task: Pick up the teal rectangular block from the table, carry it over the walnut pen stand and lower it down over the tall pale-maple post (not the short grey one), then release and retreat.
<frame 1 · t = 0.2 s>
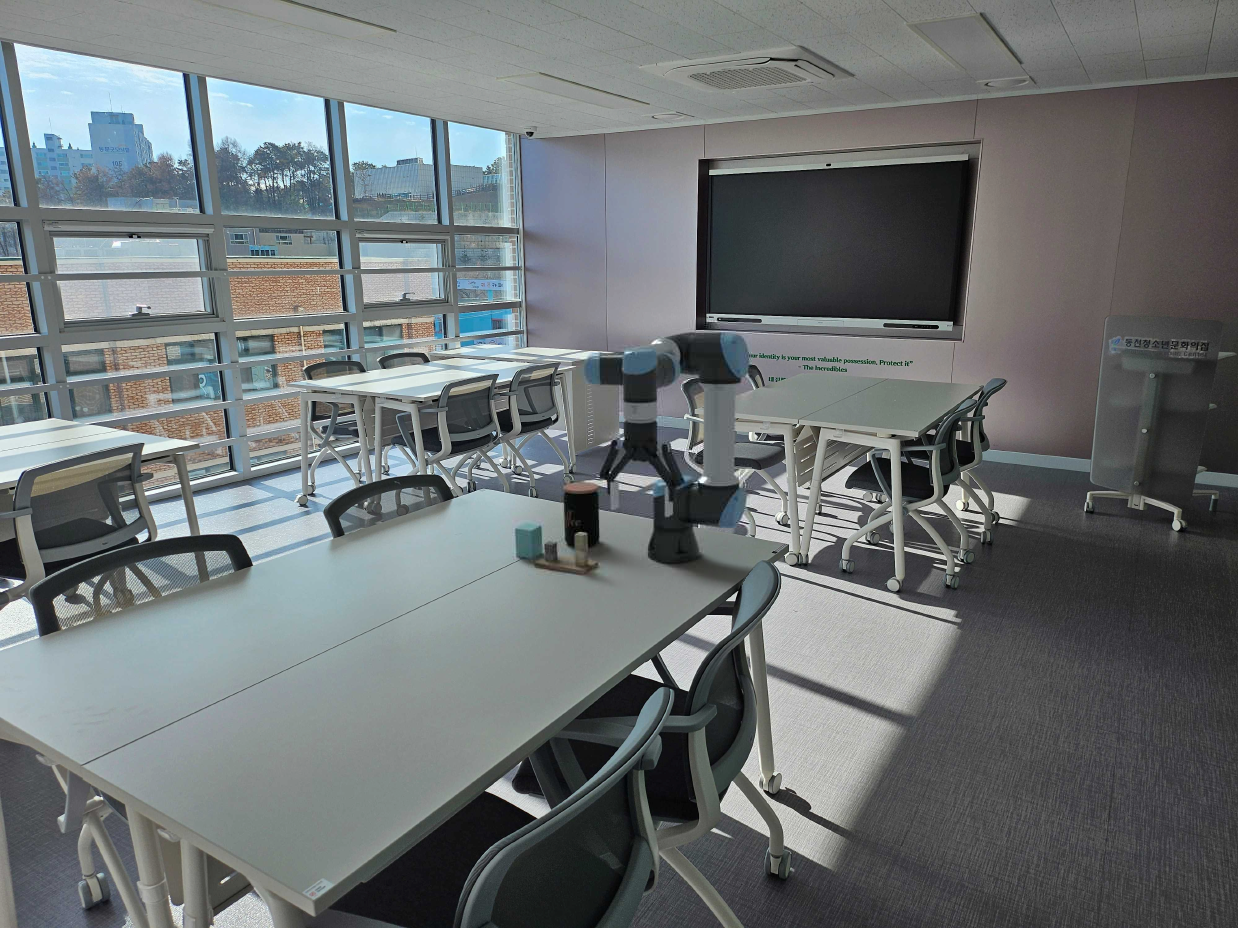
hand: (641, 511, 189), 28 cm above the table, fingers open, 13 cm apart
teal rectangular block: (529, 554, 247), on the table
coffee jar: (582, 543, 257), on the table
stand: (566, 565, 236), on the table
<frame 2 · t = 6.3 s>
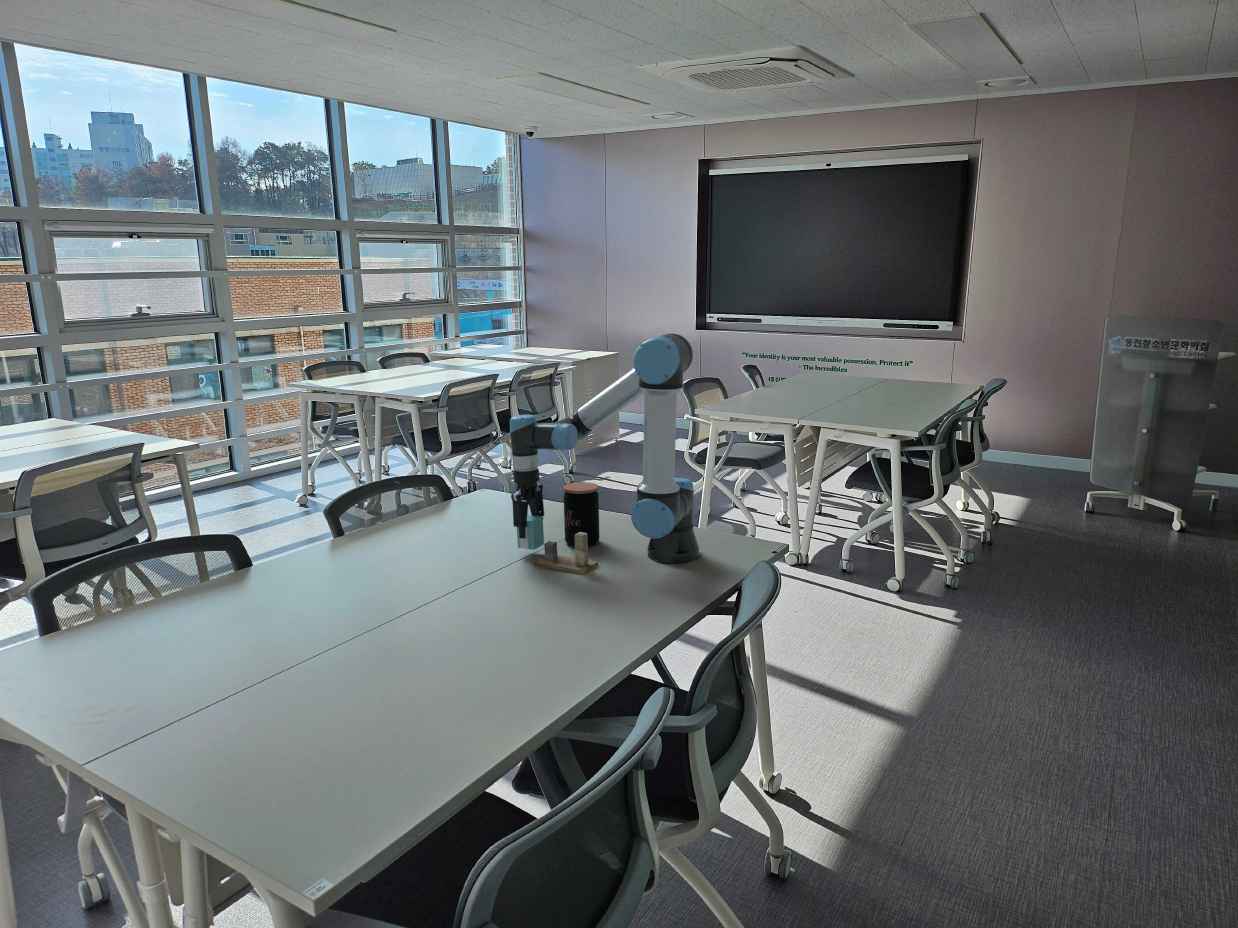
hand: (530, 544, 246), 3 cm above the table, fingers closed on teal rectangular block, 6 cm apart
teal rectangular block: (531, 545, 246), point 3 cm above the table, touching gripper
everything else where it was.
when the fingers open (3 cm above the table, at t = 11.4 s): teal rectangular block stays where it is, resting on stand.
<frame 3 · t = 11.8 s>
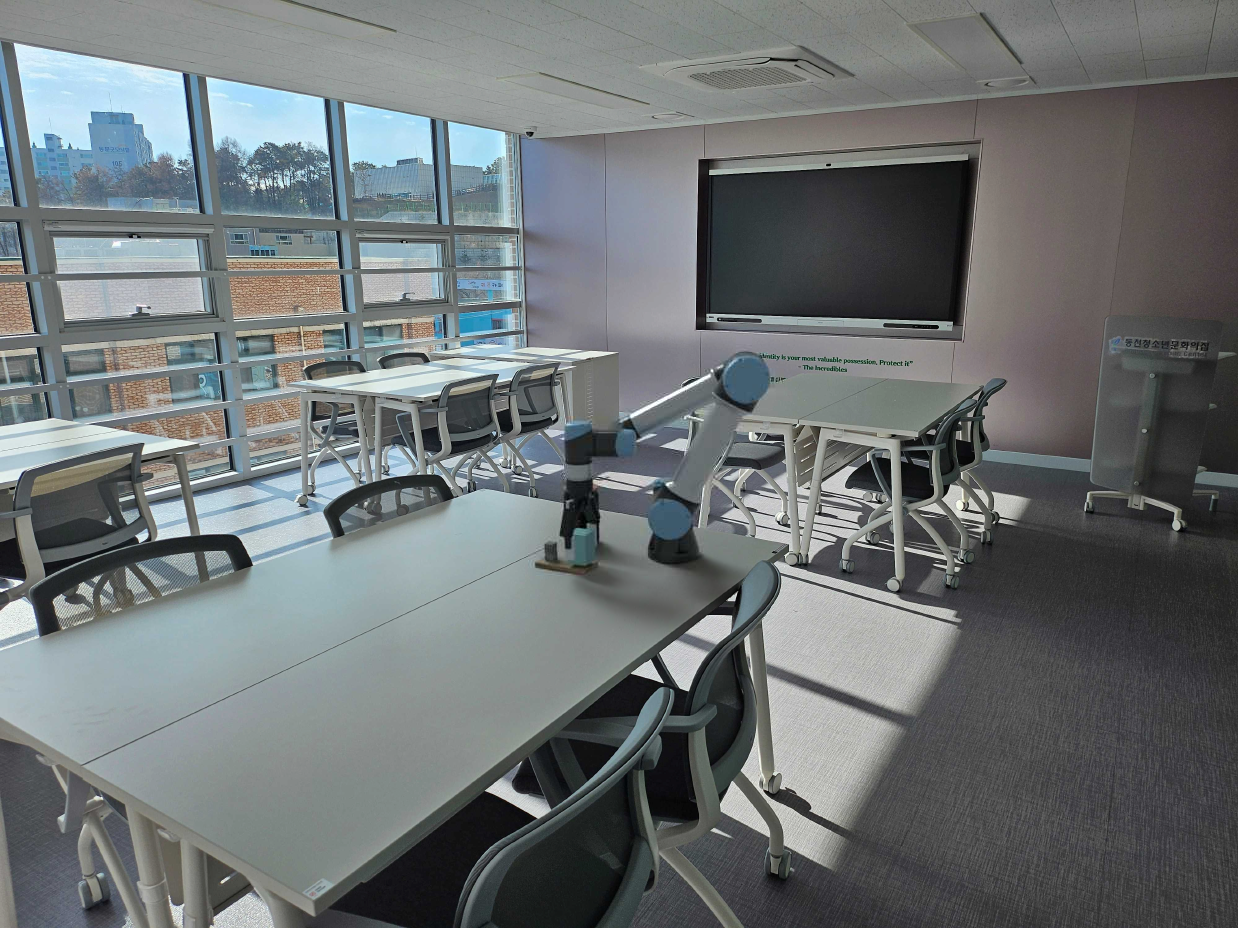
hand: (581, 552, 233), 5 cm above the table, fingers open, 12 cm apart
teal rectangular block: (581, 561, 234), point 2 cm above the table, touching stand
everything else where it was.
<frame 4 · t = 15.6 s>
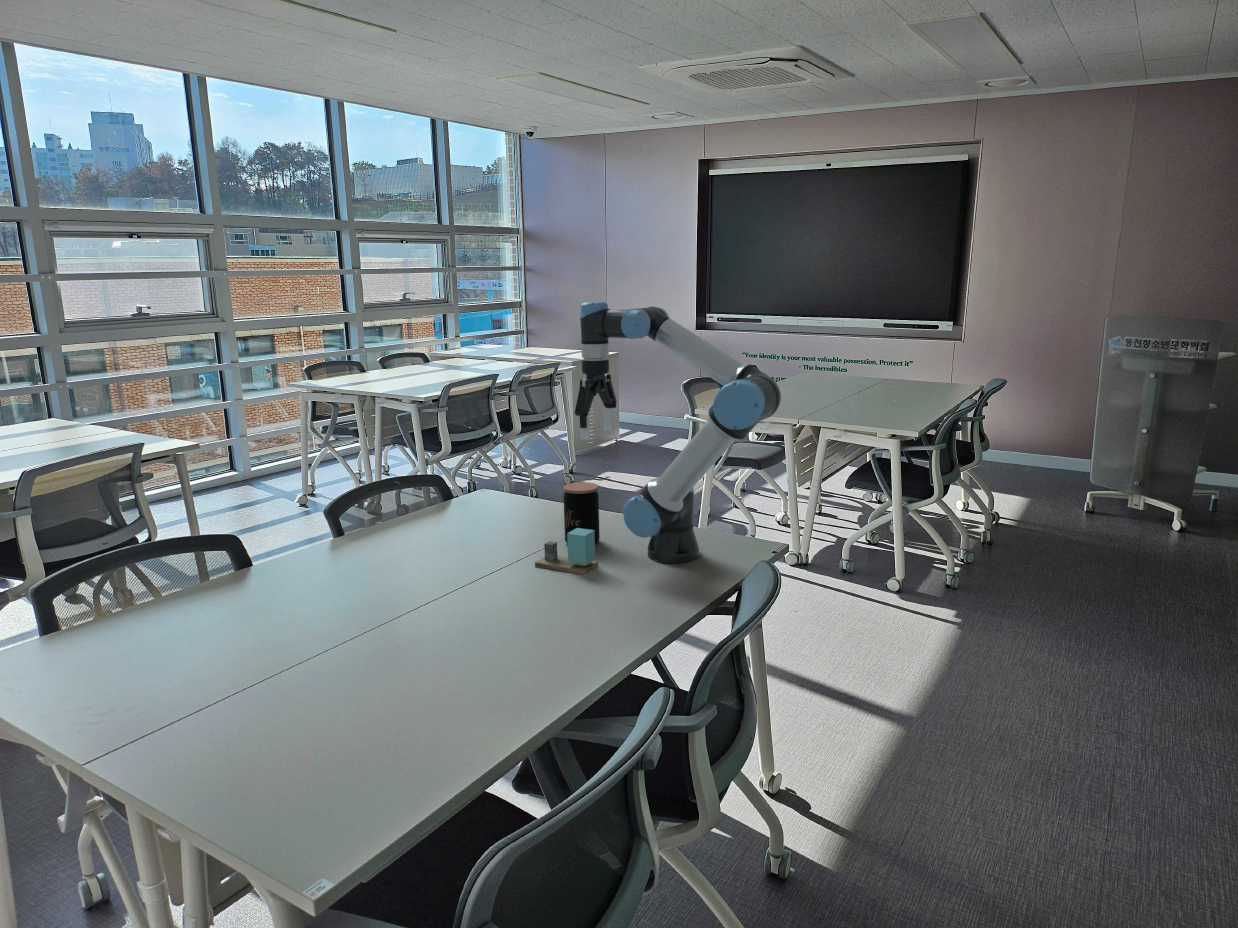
hand: (597, 435, 233), 37 cm above the table, fingers open, 13 cm apart
nothing on the table moved.
at the end: teal rectangular block 0.0 cm from the target spot on the stand, point 2.2 cm above the stand's base; teal rectangular block tilted 0°; the gripper is holding nothing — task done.
